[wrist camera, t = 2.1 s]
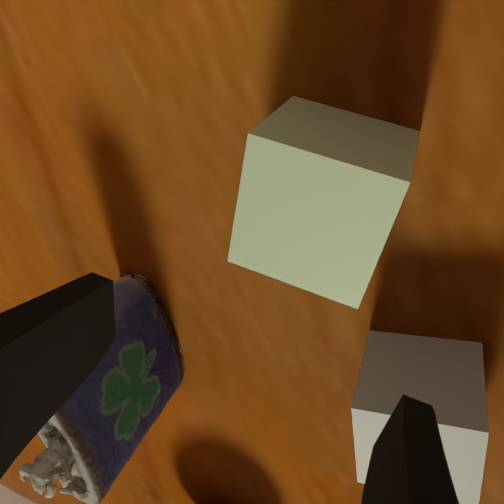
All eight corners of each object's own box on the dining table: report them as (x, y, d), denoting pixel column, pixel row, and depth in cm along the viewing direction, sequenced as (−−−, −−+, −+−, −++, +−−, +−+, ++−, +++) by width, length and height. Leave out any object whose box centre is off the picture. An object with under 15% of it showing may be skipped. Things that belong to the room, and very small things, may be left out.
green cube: (420, 130, 17) (410, 182, 13) (376, 239, 19) (357, 309, 16) (293, 95, 18) (248, 133, 14) (270, 204, 20) (227, 261, 17)
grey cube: (481, 341, 20) (488, 432, 16) (473, 416, 23) (477, 511, 19) (369, 329, 22) (351, 408, 18) (372, 399, 25) (357, 482, 21)
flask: (116, 269, 27) (-39, 412, 18) (157, 272, 25) (11, 426, 17) (157, 380, 31) (48, 535, 23) (194, 387, 30) (93, 553, 22)
